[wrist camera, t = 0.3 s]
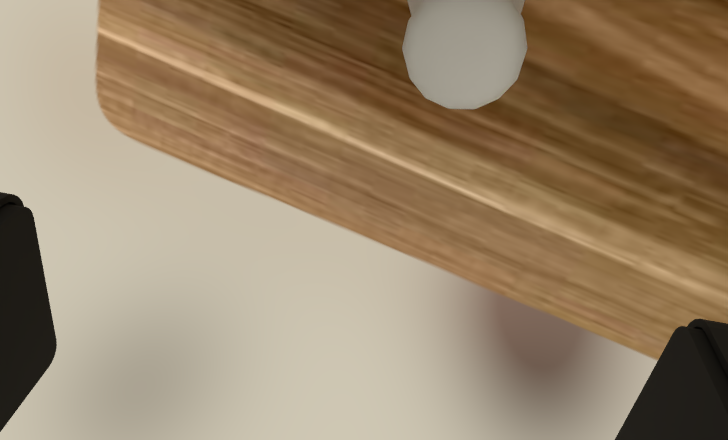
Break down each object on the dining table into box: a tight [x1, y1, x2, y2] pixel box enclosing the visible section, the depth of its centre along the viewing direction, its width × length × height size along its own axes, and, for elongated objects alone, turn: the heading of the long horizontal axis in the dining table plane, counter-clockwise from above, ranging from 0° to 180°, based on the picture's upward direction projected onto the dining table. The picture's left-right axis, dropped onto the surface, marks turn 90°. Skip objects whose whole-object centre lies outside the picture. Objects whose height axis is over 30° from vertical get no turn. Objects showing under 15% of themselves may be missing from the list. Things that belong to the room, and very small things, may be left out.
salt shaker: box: [402, 0, 527, 109], centre depth 26 cm, size 6×6×13 cm
